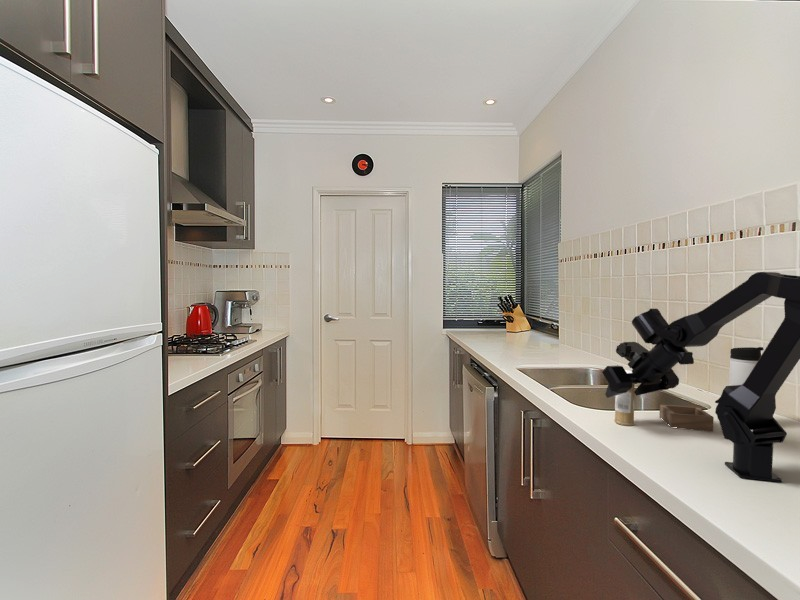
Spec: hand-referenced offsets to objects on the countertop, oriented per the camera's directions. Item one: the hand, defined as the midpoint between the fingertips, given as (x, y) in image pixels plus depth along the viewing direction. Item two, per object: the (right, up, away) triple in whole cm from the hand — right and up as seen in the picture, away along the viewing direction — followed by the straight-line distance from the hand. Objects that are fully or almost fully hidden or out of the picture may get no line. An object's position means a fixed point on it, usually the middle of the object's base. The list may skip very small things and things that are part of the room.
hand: (621, 394), depth 111 cm
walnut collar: (+16, -7, -1) cm, 17 cm away
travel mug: (+32, -8, 0) cm, 32 cm away
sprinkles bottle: (0, -7, -1) cm, 7 cm away
